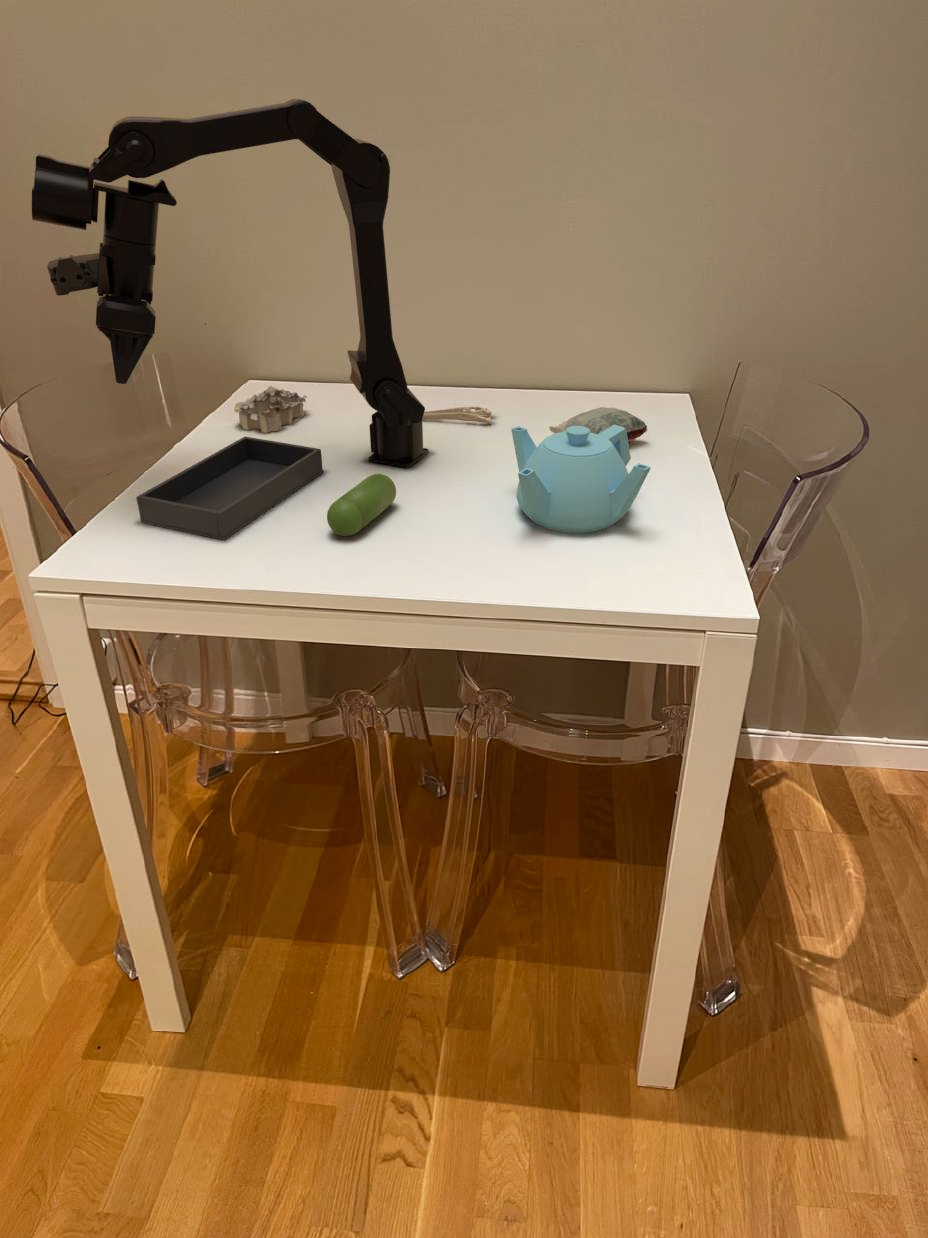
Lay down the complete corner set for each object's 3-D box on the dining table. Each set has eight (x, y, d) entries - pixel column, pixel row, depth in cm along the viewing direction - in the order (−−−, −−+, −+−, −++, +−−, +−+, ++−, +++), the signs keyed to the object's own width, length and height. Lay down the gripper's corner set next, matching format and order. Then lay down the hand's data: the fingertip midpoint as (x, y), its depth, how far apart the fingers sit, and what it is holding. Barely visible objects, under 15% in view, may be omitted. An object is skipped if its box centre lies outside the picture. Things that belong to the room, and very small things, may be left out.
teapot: (646, 540, 110) (655, 452, 104) (516, 541, 109) (519, 453, 104) (625, 487, 123) (632, 407, 117) (509, 488, 122) (511, 408, 117)
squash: (403, 504, 119) (401, 471, 116) (354, 545, 109) (351, 510, 107) (372, 498, 120) (370, 466, 118) (321, 538, 110) (318, 503, 108)
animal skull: (492, 415, 147) (491, 402, 146) (491, 426, 143) (490, 413, 142) (381, 420, 148) (380, 408, 147) (377, 431, 144) (375, 419, 143)
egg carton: (272, 435, 140) (268, 408, 138) (231, 428, 143) (227, 401, 141) (312, 413, 148) (310, 387, 146) (273, 406, 151) (270, 381, 149)
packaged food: (548, 444, 136) (550, 411, 133) (606, 426, 142) (608, 394, 139) (591, 463, 130) (594, 428, 127) (649, 443, 136) (653, 410, 134)
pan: (323, 472, 127) (321, 448, 126) (224, 540, 110) (220, 513, 108) (247, 459, 132) (244, 436, 130) (141, 522, 114) (135, 496, 113)
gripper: (58, 212, 113) (53, 342, 120) (48, 237, 98) (43, 385, 105) (155, 231, 117) (145, 355, 124) (160, 258, 102) (149, 398, 109)
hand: (121, 372), depth 115 cm, fingers open, 9 cm apart
